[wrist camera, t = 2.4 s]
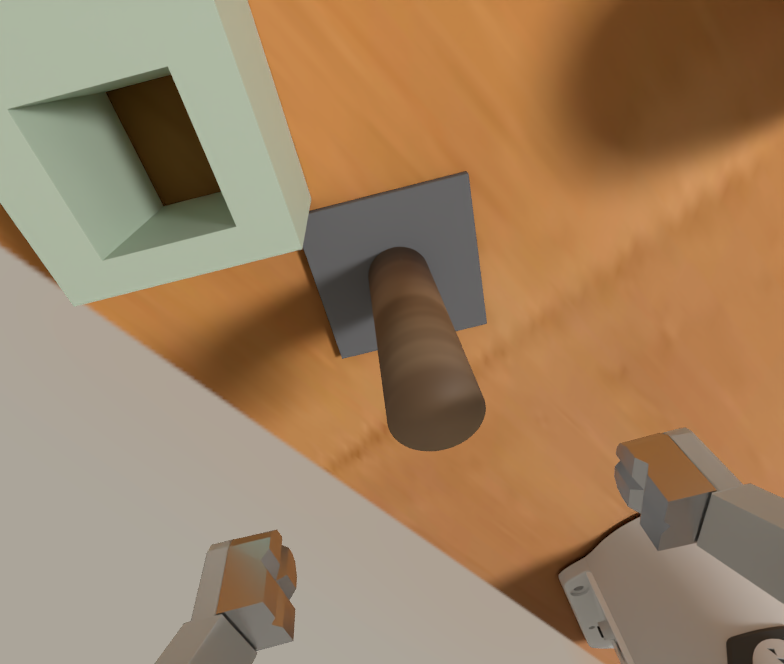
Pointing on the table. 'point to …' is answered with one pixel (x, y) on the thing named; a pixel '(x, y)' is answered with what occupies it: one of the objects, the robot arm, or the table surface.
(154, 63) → the socket block
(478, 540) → the table surface
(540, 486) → the table surface
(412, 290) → the walnut peg
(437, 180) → the mat
